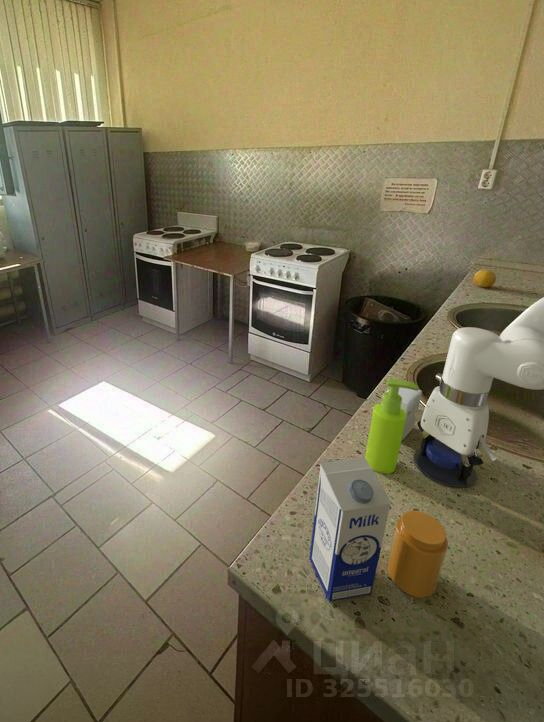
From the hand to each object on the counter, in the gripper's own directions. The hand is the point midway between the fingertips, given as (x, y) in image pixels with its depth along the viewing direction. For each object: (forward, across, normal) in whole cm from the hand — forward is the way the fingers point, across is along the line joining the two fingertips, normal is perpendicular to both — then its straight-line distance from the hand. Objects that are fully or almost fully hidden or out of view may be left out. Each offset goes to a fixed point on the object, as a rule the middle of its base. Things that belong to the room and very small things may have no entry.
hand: (443, 464), depth 81 cm
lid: (-3, 0, 0) cm, 3 cm away
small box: (+1, -12, +1) cm, 13 cm away
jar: (+1, +13, -26) cm, 29 cm away
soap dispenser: (+1, -6, -10) cm, 12 cm away
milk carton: (+1, +8, -36) cm, 37 cm away
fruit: (+1, -67, +124) cm, 141 cm away
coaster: (+1, 0, 0) cm, 1 cm away
